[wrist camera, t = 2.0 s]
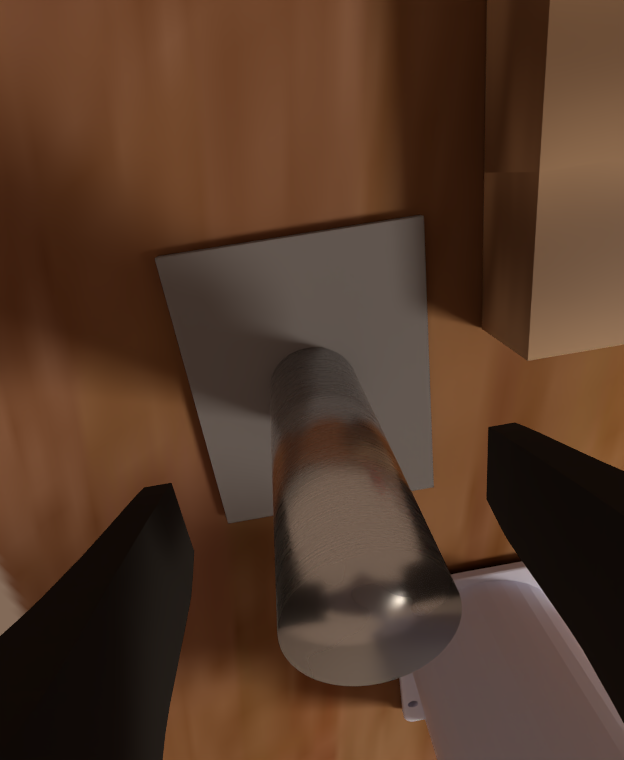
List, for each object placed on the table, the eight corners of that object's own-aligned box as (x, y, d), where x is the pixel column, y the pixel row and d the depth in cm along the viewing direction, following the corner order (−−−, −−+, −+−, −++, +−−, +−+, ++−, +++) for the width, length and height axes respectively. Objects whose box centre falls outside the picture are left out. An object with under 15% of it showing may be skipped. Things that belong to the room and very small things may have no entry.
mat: (430, 480, 18) (433, 487, 18) (228, 516, 18) (228, 523, 18) (419, 214, 14) (423, 215, 14) (157, 256, 14) (154, 258, 13)
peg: (361, 419, 16) (462, 667, 8) (277, 434, 16) (293, 700, 8) (352, 340, 15) (461, 537, 7) (261, 355, 15) (261, 574, 7)
